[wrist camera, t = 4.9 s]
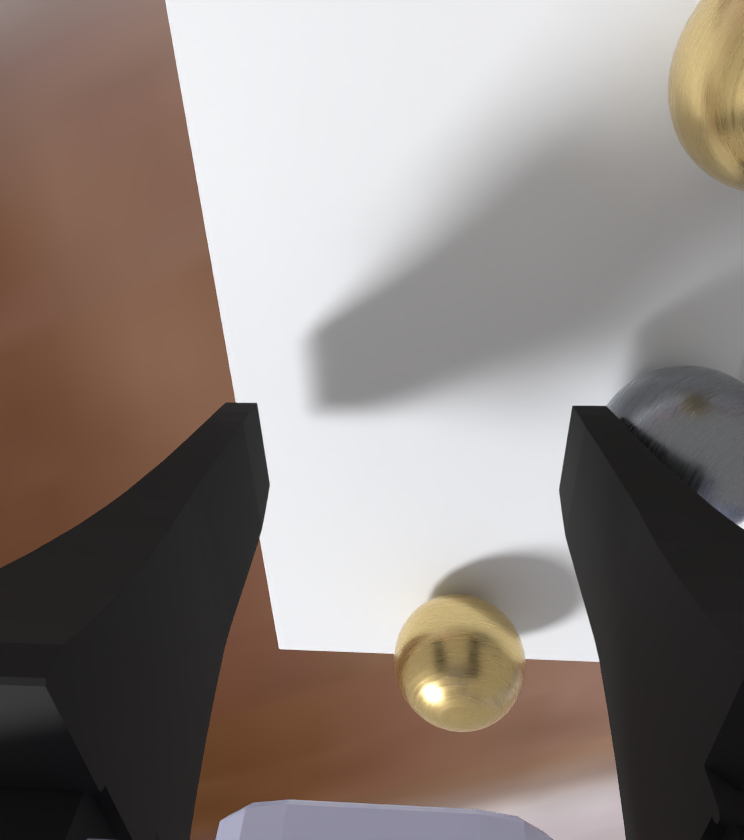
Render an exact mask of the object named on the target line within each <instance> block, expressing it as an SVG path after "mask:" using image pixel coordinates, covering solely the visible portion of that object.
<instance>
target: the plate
mask: <svg viewBox="0 0 744 840" xmlns="http://www.w3.org/2000/svg"><path fill="white" fill-rule="evenodd" d="M165 1H166V7H167V13H168V18H169V24H170V30H171V35H172V41H173V47H174V52H175V58H176V64H177V70H178V75H179V81H180V87H181V92H182V98H183V104H184V109H185V115H186V121H187V127H188V132H189V138H190V144H191V149H192V155H193V161H194V166H195V172H196V178H197V184H198V189H199V195H200V201H201V206H202V212H203V218H204V223H205V229H206V235H207V241H208V246H209V252H210V258H211V263H212V269H213V275H214V280H215V286H216V292H217V297H218V303H219V309H220V315H221V320H222V326H223V332H224V337H225V343H226V349H227V354H228V360H229V366H230V372H231V377H232V383H233V389H234V394H235V400H236V403H257V405H258V412H259V418H260V424H261V431H262V437H263V444H264V450H265V456H266V463H267V469H268V475H269V482H270V488H269V494H268V500H267V505H266V511H265V516H264V522H263V527H262V531H261V534H260V542H261V548H262V554H263V560H264V565H265V571H266V577H267V582H268V588H269V594H270V599H271V605H272V611H273V617H274V622H275V628H276V634H277V639H278V645H279V649H291V650H316V651H342V652H367V653H392V654H394V652H395V645H396V642H397V638H398V635H399V633H400V631H401V629H402V627H403V625H404V623H405V622H406V620H407V619H408V617H409V616H410V615H411V614H412V613H413V612H414V611H415V610H416V609H417V608H418V607H419V606H421V605H422V604H424V603H425V602H427V601H429V600H431V599H433V598H435V597H438V596H442V595H447V594H467V595H472V596H476V597H479V598H482V599H484V600H486V601H488V602H490V603H491V604H493V605H494V606H496V607H497V608H498V609H499V610H501V611H502V612H503V613H504V614H505V615H506V616H507V617H508V619H509V620H510V621H511V622H512V624H513V625H514V627H515V629H516V630H517V632H518V634H519V637H520V639H521V642H522V644H523V648H524V653H525V659H543V660H569V661H594V662H599V657H598V653H597V649H596V644H595V640H594V636H593V633H592V629H591V626H590V622H589V619H588V615H587V612H586V608H585V605H584V601H583V598H582V594H581V591H580V587H579V584H578V580H577V577H576V573H575V570H574V566H573V562H572V559H571V555H570V552H569V548H568V544H567V541H566V537H565V531H564V524H563V517H562V510H561V502H560V495H559V486H560V480H561V473H562V467H563V461H564V455H565V448H566V442H567V436H568V430H569V423H570V417H571V411H572V406H606V405H607V404H608V403H609V401H610V400H611V399H612V398H613V396H614V395H615V394H616V393H617V392H618V391H619V390H621V389H622V388H623V387H624V386H625V385H627V384H628V383H630V382H631V381H633V380H634V379H636V378H638V377H639V376H641V375H644V374H646V373H649V372H651V371H653V370H657V369H661V368H665V367H671V366H683V365H688V366H700V367H706V368H710V369H714V370H717V371H720V372H723V373H726V374H728V375H730V376H732V377H734V378H735V379H737V380H739V381H741V382H742V383H744V191H741V190H738V189H735V188H732V187H729V186H727V185H725V184H723V183H721V182H719V181H717V180H716V179H714V178H712V177H711V176H709V175H708V174H707V173H705V172H704V171H703V170H701V169H700V168H699V167H698V166H697V165H696V164H695V162H694V161H693V160H692V159H691V158H690V157H689V156H688V154H687V153H686V151H685V150H684V148H683V147H682V145H681V144H680V142H679V139H678V137H677V135H676V133H675V130H674V127H673V123H672V120H671V116H670V111H669V103H668V80H669V72H670V66H671V62H672V58H673V54H674V51H675V48H676V45H677V43H678V40H679V37H680V35H681V33H682V31H683V29H684V27H685V25H686V23H687V21H688V19H689V17H690V16H691V14H692V12H693V11H694V9H695V8H696V6H697V4H698V3H699V2H700V0H165ZM738 526H740V527H741V528H743V529H744V522H742V523H741V524H739V525H738Z"/></svg>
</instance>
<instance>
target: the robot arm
mask: <svg viewBox="0 0 744 840" xmlns="http://www.w3.org/2000/svg"><path fill="white" fill-rule="evenodd" d="M269 488H270V482H269V475H268V469H267V463H266V456H265V450H264V444H263V437H262V431H261V424H260V418H259V412H258V405H257V403H225V404H224V405H223V406H222V407H221V408H219V409H218V410H217V411H216V412H215V413H214V414H213V415H212V416H211V417H210V418H209V419H208V420H207V421H206V422H205V423H204V424H203V425H202V426H200V427H199V428H198V429H197V430H196V431H195V432H194V433H193V434H192V435H191V436H190V437H189V438H188V439H187V440H186V441H185V442H183V443H182V444H181V445H180V446H179V447H178V448H177V449H176V450H175V451H174V452H173V453H171V454H170V455H169V456H168V457H167V458H166V459H165V460H164V461H163V462H161V463H160V464H159V465H158V466H157V467H155V468H154V469H153V470H152V471H151V472H149V473H148V474H147V475H146V476H144V477H143V478H142V479H141V480H140V481H138V482H137V483H136V484H135V485H133V486H132V487H131V488H130V489H129V490H127V491H126V492H125V493H123V494H122V495H121V496H119V497H118V498H117V499H115V500H114V501H113V502H111V503H110V504H109V505H107V506H106V507H104V508H103V509H101V510H100V511H98V512H97V513H95V514H94V515H92V516H91V517H89V518H88V519H86V520H85V521H84V522H82V523H80V524H79V525H77V526H76V527H74V528H72V529H71V530H69V531H67V532H65V533H64V534H62V535H60V536H59V537H57V538H55V539H53V540H52V541H50V542H48V543H46V544H45V545H43V546H41V547H40V548H38V549H36V550H34V551H33V552H31V553H29V554H27V555H25V556H23V557H21V558H19V559H17V560H15V561H14V562H12V563H10V564H8V565H6V566H4V567H2V568H0V840H190V833H191V826H192V820H193V813H194V807H195V800H196V795H197V789H198V783H199V777H200V771H201V765H202V760H203V754H204V748H205V742H206V737H207V732H208V727H209V722H210V716H211V711H212V706H213V701H214V696H215V691H216V686H217V681H218V677H219V672H220V667H221V662H222V658H223V653H224V648H225V645H226V641H227V637H228V634H229V630H230V627H231V623H232V620H233V617H234V614H235V611H236V608H237V605H238V602H239V599H240V596H241V593H242V590H243V587H244V584H245V581H246V578H247V575H248V572H249V569H250V566H251V563H252V559H253V556H254V553H255V550H256V547H257V544H258V541H259V537H260V534H261V531H262V527H263V522H264V516H265V511H266V505H267V500H268V494H269ZM559 495H560V502H561V510H562V517H563V524H564V531H565V537H566V541H567V544H568V548H569V552H570V555H571V559H572V562H573V566H574V570H575V573H576V577H577V580H578V584H579V587H580V591H581V594H582V598H583V601H584V605H585V608H586V612H587V615H588V619H589V622H590V626H591V629H592V633H593V636H594V640H595V644H596V649H597V653H598V657H599V662H600V668H601V673H602V679H603V685H604V691H605V697H606V703H607V709H608V715H609V722H610V728H611V735H612V741H613V748H614V754H615V761H616V768H617V775H618V783H619V790H620V797H621V805H622V812H623V820H624V827H625V836H626V840H744V529H743V528H741V527H740V526H738V525H737V524H735V523H734V522H733V521H731V520H730V519H728V518H727V517H726V516H725V515H723V514H722V513H721V512H719V511H718V510H717V509H715V508H714V507H713V506H712V505H710V504H709V503H708V502H707V501H706V500H705V499H703V498H702V497H701V496H700V495H699V494H697V493H696V492H695V491H694V490H693V489H691V488H690V487H689V486H688V485H687V484H686V483H684V482H683V481H682V480H681V479H680V478H679V477H678V476H677V475H675V474H674V473H673V472H672V471H671V470H670V469H669V468H668V467H667V466H666V465H665V464H664V463H663V462H662V461H660V460H659V459H658V458H657V457H656V456H655V455H654V454H653V453H652V452H651V451H650V450H649V449H648V448H647V447H646V446H645V445H644V444H643V443H642V442H641V441H640V440H639V439H638V438H637V437H636V436H635V435H634V434H633V433H632V432H631V431H630V430H629V429H628V428H627V427H626V426H625V424H624V423H623V422H622V421H621V420H620V419H619V418H618V417H617V416H616V415H615V414H614V413H613V412H612V411H611V410H610V409H609V408H608V407H607V406H572V411H571V417H570V423H569V430H568V436H567V442H566V448H565V455H564V461H563V467H562V473H561V480H560V486H559ZM216 840H553V839H552V838H551V837H549V836H548V835H547V834H546V833H544V832H543V831H541V830H540V829H538V828H536V827H535V826H533V825H531V824H529V823H528V822H526V821H524V820H522V819H521V818H519V817H517V816H512V815H506V814H501V813H495V812H490V811H485V810H479V809H461V808H442V807H423V806H403V805H384V804H365V803H345V802H326V801H306V800H279V801H268V802H256V803H251V804H250V805H248V806H246V807H244V808H242V809H240V810H238V811H236V812H234V813H232V814H230V815H229V816H227V817H226V818H224V819H223V820H221V821H220V823H219V828H218V832H217V836H216Z"/></svg>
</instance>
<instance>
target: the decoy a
mask: <svg viewBox="0 0 744 840" xmlns="http://www.w3.org/2000/svg"><path fill="white" fill-rule="evenodd" d="M394 668H395V674H396V679H397V682H398V685H399V688H400V690H401V692H402V694H403V696H404V698H405V699H406V701H407V702H408V704H409V705H410V706H411V708H412V709H413V710H414V711H415V712H416V713H417V714H418V715H419V716H421V717H422V718H423V719H424V720H426V721H427V722H429V723H431V724H433V725H434V726H437V727H439V728H442V729H445V730H449V731H454V732H470V731H476V730H480V729H483V728H486V727H488V726H490V725H492V724H494V723H495V722H497V721H498V720H500V719H501V718H502V717H503V716H504V715H505V714H506V713H507V712H508V711H509V710H510V709H511V708H512V706H513V705H514V704H515V702H516V700H517V698H518V696H519V694H520V692H521V690H522V686H523V682H524V679H525V669H526V662H525V653H524V648H523V644H522V642H521V639H520V637H519V634H518V632H517V630H516V629H515V627H514V625H513V624H512V622H511V621H510V620H509V619H508V617H507V616H506V615H505V614H504V613H503V612H502V611H501V610H499V609H498V608H497V607H496V606H494V605H493V604H491V603H490V602H488V601H486V600H484V599H482V598H479V597H476V596H472V595H467V594H447V595H442V596H438V597H435V598H433V599H431V600H429V601H427V602H425V603H424V604H422V605H421V606H419V607H418V608H417V609H416V610H415V611H414V612H413V613H412V614H411V615H410V616H409V617H408V619H407V620H406V622H405V623H404V625H403V627H402V629H401V631H400V633H399V635H398V638H397V642H396V645H395V652H394Z"/></svg>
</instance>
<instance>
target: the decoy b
mask: <svg viewBox="0 0 744 840" xmlns="http://www.w3.org/2000/svg"><path fill="white" fill-rule="evenodd" d="M668 103H669V111H670V116H671V120H672V123H673V127H674V130H675V133H676V135H677V137H678V139H679V142H680V144H681V145H682V147H683V148H684V150H685V151H686V153H687V154H688V156H689V157H690V158H691V159H692V160H693V161H694V162H695V164H696V165H697V166H698V167H699V168H700V169H701V170H703V171H704V172H705V173H707V174H708V175H709V176H711V177H712V178H714V179H716V180H717V181H719V182H721V183H723V184H725V185H727V186H729V187H732V188H735V189H738V190H741V191H744V0H700V2H699V3H698V4H697V6H696V8H695V9H694V11H693V12H692V14H691V16H690V17H689V19H688V21H687V23H686V25H685V27H684V29H683V31H682V33H681V35H680V37H679V40H678V43H677V45H676V48H675V51H674V54H673V58H672V62H671V66H670V72H669V80H668Z"/></svg>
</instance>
